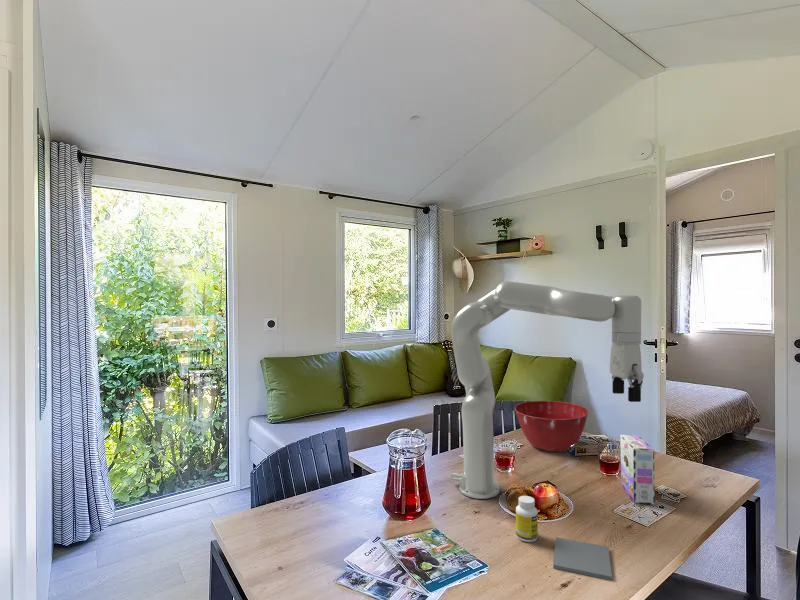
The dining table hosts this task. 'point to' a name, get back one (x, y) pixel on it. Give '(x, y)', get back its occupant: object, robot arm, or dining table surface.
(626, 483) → the candy box
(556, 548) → the slate coaster
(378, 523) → the dining table surface
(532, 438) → the mixing bowl
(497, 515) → the dining table surface
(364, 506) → the dining table surface
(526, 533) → the supplement bottle
